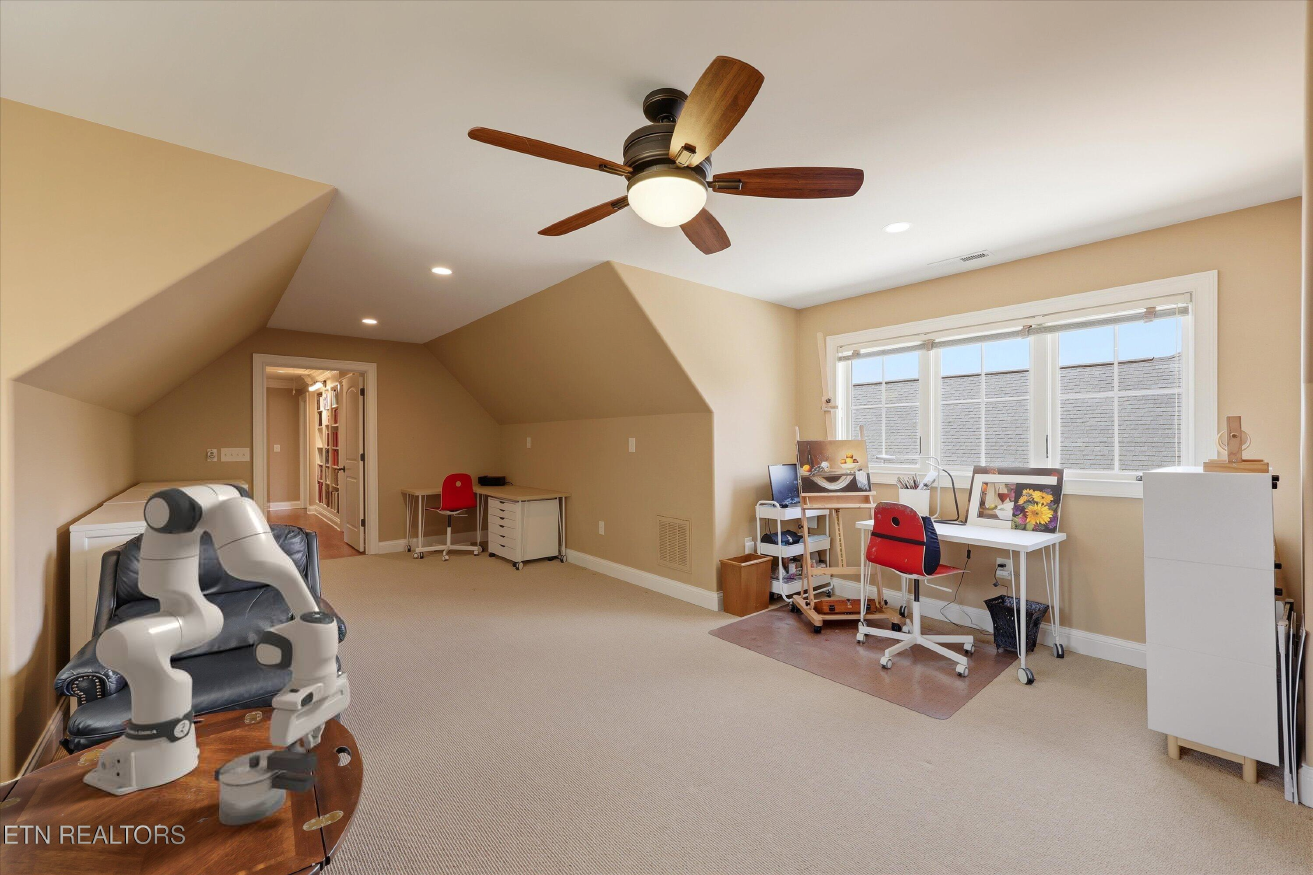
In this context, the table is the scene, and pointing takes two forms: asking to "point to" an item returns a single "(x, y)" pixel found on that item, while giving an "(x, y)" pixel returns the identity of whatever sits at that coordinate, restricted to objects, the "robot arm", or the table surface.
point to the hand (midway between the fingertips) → (312, 745)
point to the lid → (265, 766)
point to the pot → (258, 796)
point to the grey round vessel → (295, 748)
